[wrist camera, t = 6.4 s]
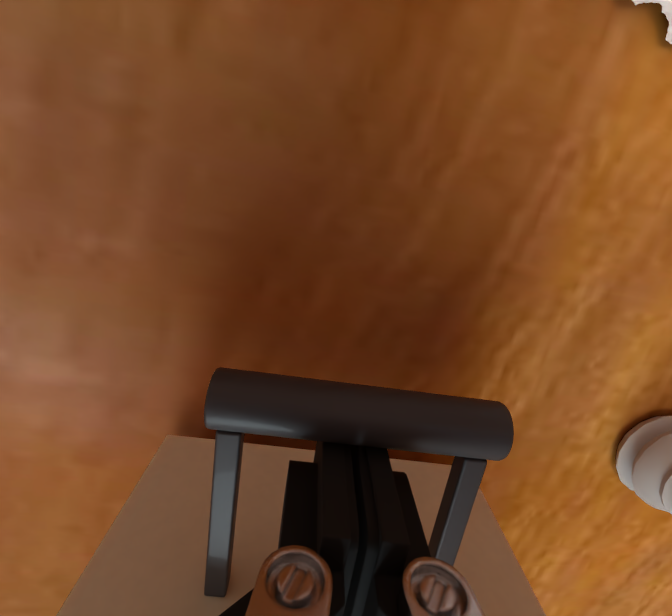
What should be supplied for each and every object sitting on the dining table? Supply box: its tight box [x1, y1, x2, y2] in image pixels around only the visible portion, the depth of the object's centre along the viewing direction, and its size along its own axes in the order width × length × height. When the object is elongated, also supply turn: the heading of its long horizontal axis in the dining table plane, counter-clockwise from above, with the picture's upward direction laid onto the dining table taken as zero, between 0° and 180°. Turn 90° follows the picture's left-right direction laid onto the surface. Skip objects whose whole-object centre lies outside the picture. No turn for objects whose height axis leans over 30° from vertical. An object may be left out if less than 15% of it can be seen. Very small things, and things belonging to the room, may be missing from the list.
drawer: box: [56, 367, 546, 616], centre depth 15 cm, size 21×13×8 cm, turn 171°
